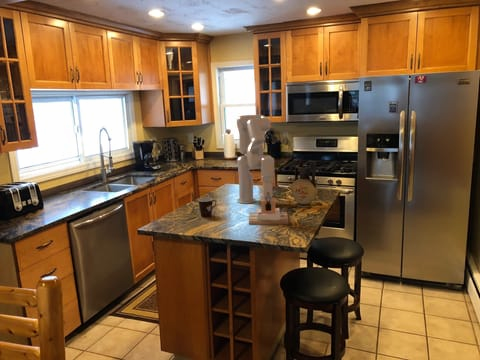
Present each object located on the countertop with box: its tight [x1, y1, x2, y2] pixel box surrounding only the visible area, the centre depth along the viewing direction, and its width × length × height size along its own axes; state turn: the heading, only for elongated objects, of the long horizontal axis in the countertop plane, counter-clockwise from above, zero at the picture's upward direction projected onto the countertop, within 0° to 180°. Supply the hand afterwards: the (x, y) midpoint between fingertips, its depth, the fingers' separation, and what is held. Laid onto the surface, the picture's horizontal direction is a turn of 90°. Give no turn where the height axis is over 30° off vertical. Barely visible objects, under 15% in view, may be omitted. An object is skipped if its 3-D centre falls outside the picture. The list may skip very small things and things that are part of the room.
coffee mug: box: [197, 197, 217, 218], centre depth 235 cm, size 12×9×10 cm
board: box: [248, 211, 289, 225], centre depth 224 cm, size 16×22×2 cm
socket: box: [256, 207, 280, 220], centre depth 224 cm, size 13×13×4 cm
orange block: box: [260, 197, 276, 213], centre depth 223 cm, size 7×8×9 cm
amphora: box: [290, 158, 319, 208], centre depth 250 cm, size 18×17×30 cm
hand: (268, 208), depth 223 cm, fingers open, 9 cm apart
